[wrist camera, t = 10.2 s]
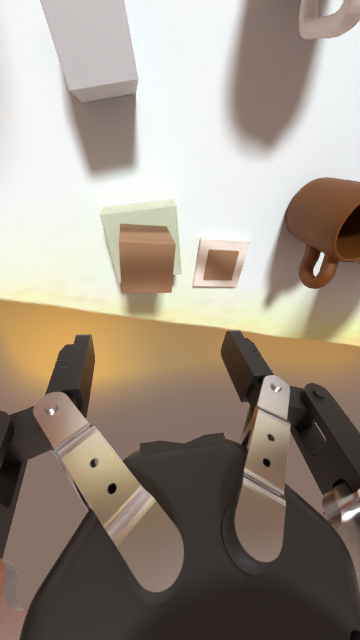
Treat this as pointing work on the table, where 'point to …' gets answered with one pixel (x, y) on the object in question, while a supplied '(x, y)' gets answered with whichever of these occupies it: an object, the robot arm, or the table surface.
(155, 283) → the walnut block
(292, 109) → the table surface
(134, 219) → the base block
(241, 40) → the table surface
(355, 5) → the mug
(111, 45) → the grey block
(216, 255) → the tile
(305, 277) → the mug
